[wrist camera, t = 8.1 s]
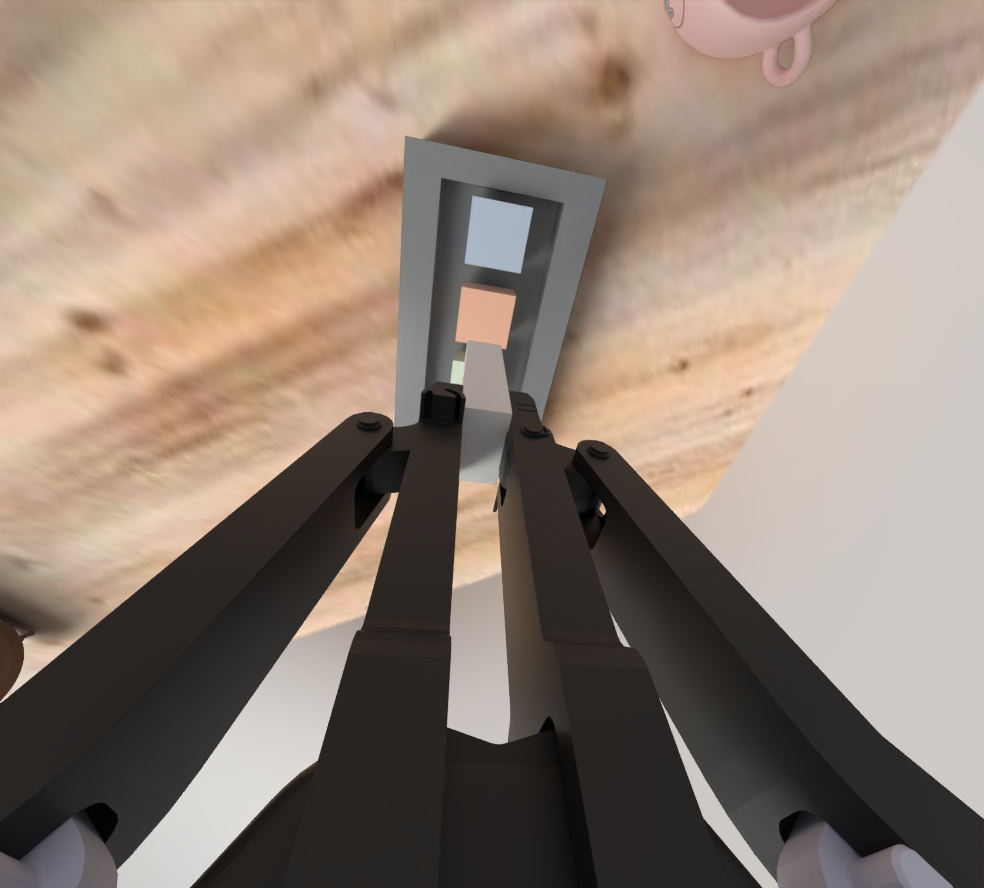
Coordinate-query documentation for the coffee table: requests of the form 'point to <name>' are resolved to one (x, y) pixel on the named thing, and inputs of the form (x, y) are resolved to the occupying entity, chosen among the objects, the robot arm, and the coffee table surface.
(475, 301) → the key
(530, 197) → the gray rectangular tray
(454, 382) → the key
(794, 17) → the mug
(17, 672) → the alarm clock
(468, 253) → the key
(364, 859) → the robot arm
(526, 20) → the coffee table surface
